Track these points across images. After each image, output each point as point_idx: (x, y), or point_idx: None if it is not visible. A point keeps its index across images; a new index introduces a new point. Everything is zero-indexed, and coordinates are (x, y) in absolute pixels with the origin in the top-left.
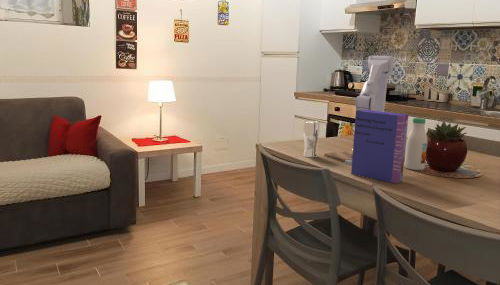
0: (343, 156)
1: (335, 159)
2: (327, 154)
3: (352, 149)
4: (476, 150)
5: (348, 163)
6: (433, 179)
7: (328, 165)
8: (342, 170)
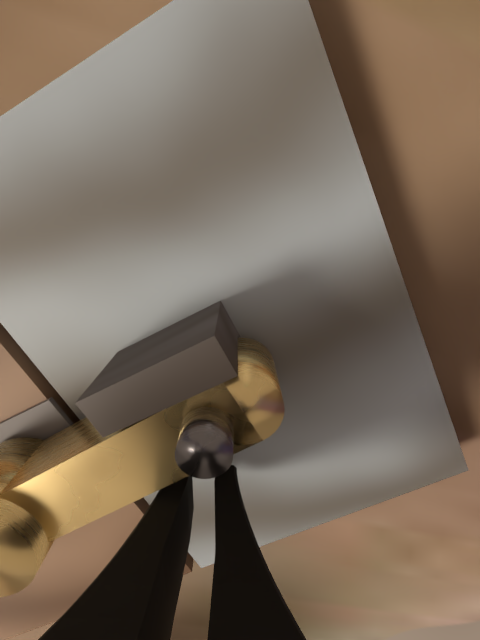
0: (50, 555)
1: None
2: (5, 637)
3: (7, 595)
4: None
5: None
6: None
7: None
8: (437, 586)
